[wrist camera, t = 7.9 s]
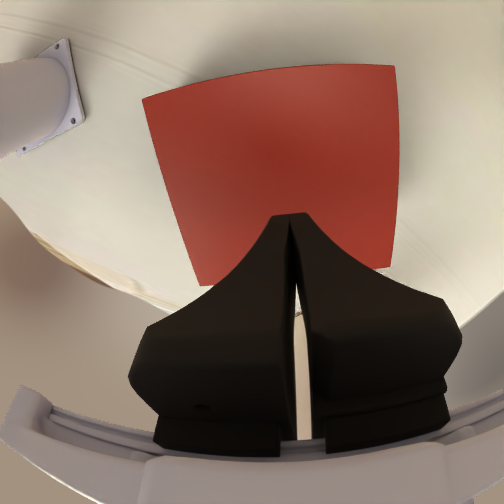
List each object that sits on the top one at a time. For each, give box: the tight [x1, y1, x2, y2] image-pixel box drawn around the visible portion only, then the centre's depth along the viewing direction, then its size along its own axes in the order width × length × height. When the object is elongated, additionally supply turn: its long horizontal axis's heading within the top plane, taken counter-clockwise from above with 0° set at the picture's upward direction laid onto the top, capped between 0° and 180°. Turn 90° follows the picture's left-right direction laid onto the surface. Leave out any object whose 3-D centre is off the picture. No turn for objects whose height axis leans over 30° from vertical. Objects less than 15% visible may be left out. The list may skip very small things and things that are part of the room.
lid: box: [142, 64, 399, 286], centre depth 15 cm, size 12×13×1 cm
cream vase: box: [294, 314, 311, 440], centre depth 22 cm, size 7×7×15 cm
